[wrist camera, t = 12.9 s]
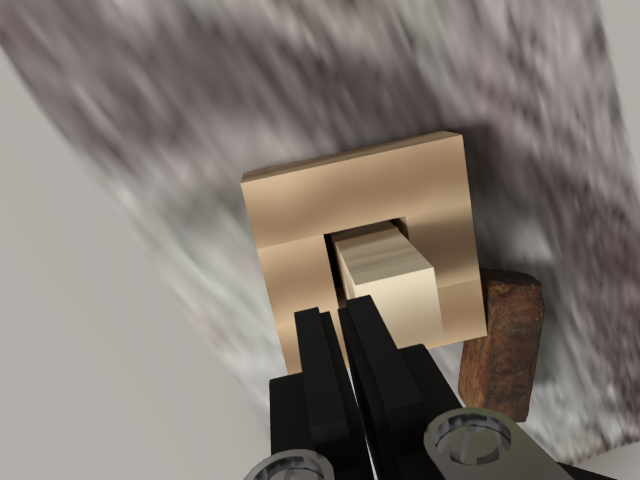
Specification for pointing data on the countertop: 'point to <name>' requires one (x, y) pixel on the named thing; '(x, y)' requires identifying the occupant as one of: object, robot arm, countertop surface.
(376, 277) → the peg
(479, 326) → the seat board
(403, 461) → the robot arm
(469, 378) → the brick
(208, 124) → the countertop surface
